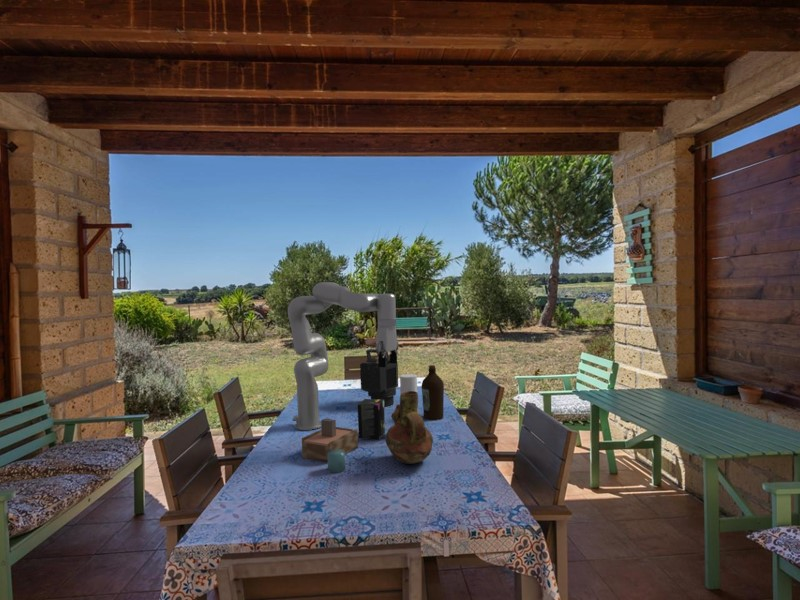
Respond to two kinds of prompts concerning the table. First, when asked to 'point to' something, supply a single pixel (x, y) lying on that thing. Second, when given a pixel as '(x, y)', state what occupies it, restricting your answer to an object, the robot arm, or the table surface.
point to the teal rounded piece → (336, 461)
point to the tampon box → (371, 419)
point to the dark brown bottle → (433, 395)
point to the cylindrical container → (408, 383)
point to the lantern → (379, 378)
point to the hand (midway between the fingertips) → (388, 365)
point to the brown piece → (326, 433)
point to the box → (330, 445)
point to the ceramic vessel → (408, 431)
